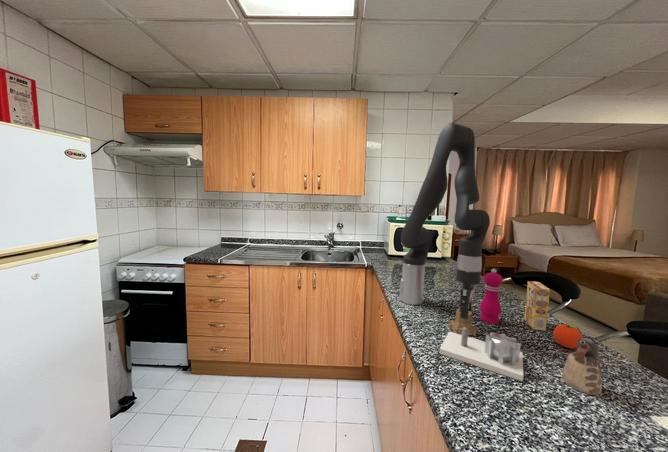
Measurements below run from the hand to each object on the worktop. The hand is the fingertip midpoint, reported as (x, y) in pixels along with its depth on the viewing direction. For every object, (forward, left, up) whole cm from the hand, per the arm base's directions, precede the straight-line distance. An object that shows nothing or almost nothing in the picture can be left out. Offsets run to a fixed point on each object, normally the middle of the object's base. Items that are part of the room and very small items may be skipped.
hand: (465, 314), depth 93 cm
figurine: (+28, -13, -6) cm, 32 cm away
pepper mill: (+6, +15, -6) cm, 17 cm away
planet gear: (-1, 0, -6) cm, 6 cm away
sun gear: (+11, -14, -4) cm, 19 cm away
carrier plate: (+6, -14, -6) cm, 17 cm away
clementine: (+28, +9, -6) cm, 30 cm away
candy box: (+20, +21, -6) cm, 30 cm away
